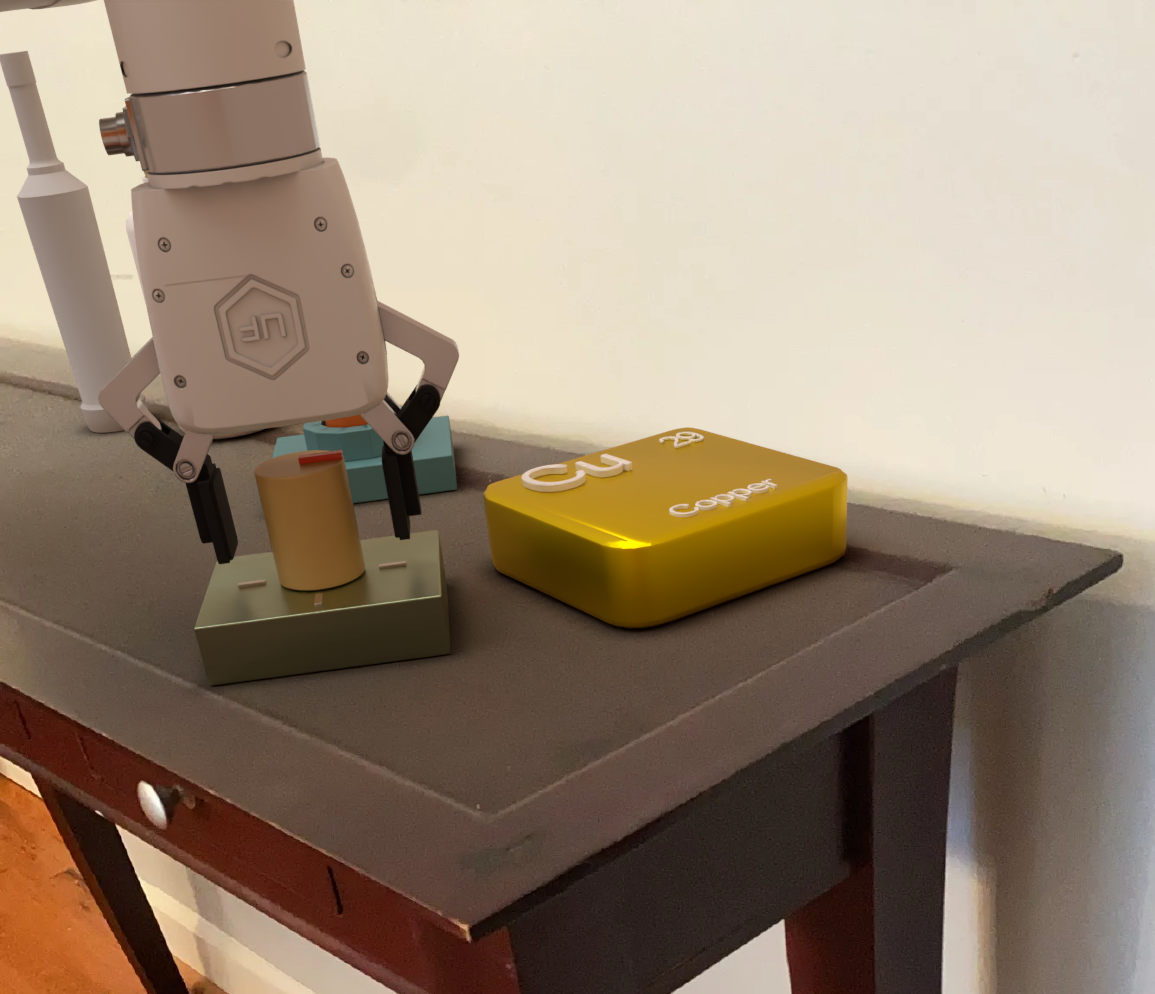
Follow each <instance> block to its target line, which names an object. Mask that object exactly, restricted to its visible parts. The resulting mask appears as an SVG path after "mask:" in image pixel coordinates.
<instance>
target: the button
mask: <svg viewBox="0 0 1155 994" xmlns="http://www.w3.org/2000/svg"><path fill="white" fill-rule="evenodd" d="M325 423H326V426H327V427H332V428H347V427H355V426H362V425H367V424H368V423H367V422H366V421H365V420H364V419H363V418H362V417H361V415H356V416H351V417H346V418H339V419H333V420H326V421H325Z"/></svg>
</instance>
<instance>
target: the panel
mask: <svg viewBox="0 0 1155 994" xmlns="http://www.w3.org/2000/svg"><path fill="white" fill-rule="evenodd" d="M360 542H361V547H362V552H363V558H364V563H365V570H364V572H363V573H362V575H360V576H359V577H358V578H356V579H354V580H352V581H350V582H348V583H345V584H342V585H339V586H336V587H332V588H327V589H321V590H293V589H289V588H286V587H284V586H282V585H281V583H280V581H279V578H278V573H277V569H276V565H275V561H274V556H273V552H272V551H268V552H259V553H252V554H245V555H237V556H236V555H235V556H234V559H233V560H230V563H227V564H219V563H218V561H217V560H216V561H215V565H214V567H213V571H212V574H211V577H210V579H209V582H208V585H207V589H206V591H205V595H204V598H203V601H202V603H201V607H200V609H199V612H198V616H197V620H196V622H195V625H194V629H193V630H194V633H195V638H196V641H197V645H198V648H199V652H200V655H201V659H202V663H203V666H204V669H205V673H206V677H207V681H208V684H209V686H213V687H214V686H220V685H228V684H235V683H243V682H250V681H258V680H265V679H273V678H279V677H288V676H295V675H302V674H311V673H317V672H325V671H326V672H327V671H333V670H340V669H347V668H355V667H362V666H369V665H377V664H384V663H385V664H386V663H392V662H400V661H409V660H415V659H422V658H430V657H436V656H437V657H438V656H445V655H450V654H451V653H452V650H451V649H452V648H451V631H450V613H449V597H448V595H449V594H448V581H447V574H446V568H445V563H444V562H445V561H444V556H443V549H442V544H441V543H442V542H441V537H440V531H439V530H438V529H434V530H426V531H425V530H424V531H419V532H410V539H406V540H400V539H399V538H395V535H389V536H382V537H374V538H366V539H360Z"/></svg>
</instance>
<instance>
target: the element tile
mask: <svg viewBox="0 0 1155 994" xmlns="http://www.w3.org/2000/svg"><path fill="white" fill-rule="evenodd" d="M482 498H483V505H484V512H485V518H486V527H487V534H488V540H489V548H490V555H491V562H492V565H493V567H494V568H495V569H496V570H497V571H498V572H499V573H501V574H502V575H505V576H507V577H508V578H509V577H510V578H511V579H513V580H516V581H518V582H520V583H522V584H524V585H526V586H529V587H530V588H533V589H535V590H536V591H538V592H541V593H543V594H544V595H547V596H549V597H552V598H553V599H556V600H558V601H560V602H562V603H565V604H566V605H567V606H568V605H569V606H571V607H572V608H574V609H577V610H579V611H581V612H583V613H586V614H587V615H590V616H591V617H593V618H595V619H598V620H600V621H602V622H605V623H607V624H608V625H611V626H615V627H617V628H625V629H647V628H652V627H658V626H662V625H665V624H668V623H671V622H674V621H677V620H679V619H682V618H685V617H688V616H691V615H694V614H696V613H699V612H702V611H705V610H708V609H711V608H713V607H715V606H718V605H721V604H725V603H726V602H730V601H732V600H736V599H738V598H741V597H743V596H747V595H749V594H752V593H755V592H757V591H760V590H763V589H766V588H769V587H772V586H774V585H777V584H780V583H782V582H785V581H787V580H790V579H793V578H797V577H799V576H802V575H805V574H808V573H810V572H814V571H816V570H818V569H821V568H824V567H827V566H830V565H831V564H834V563H835V562H837V561H838V560H839V559H841V558H842V557H844V556H845V554H846V550H847V537H848V536H847V533H848V531H847V530H848V473H846V472H844V471H843V470H842V469H841V468H839V467H837V466H833V465H829V464H826V463H822V462H819V461H815V460H811V459H809V458H805V457H800V456H797V455H793V454H790V453H786V452H782V451H779V450H775V449H772V448H769V447H765V446H761V445H758V444H755V443H751V442H747V441H743V440H740V439H736V438H733V437H730V436H726V435H722V434H718V433H714V432H711V431H708V430H704V429H700V428H695V427H689V426H688V427H680V428H675V429H672V430H667V431H665V432H661V433H656V434H654V435H651V436H647V437H644V438H640V439H637V440H633V441H631V442H626V443H623V444H619V445H617V446H613V447H609V448H607V449H603V450H600V451H596V452H593V453H589V454H586V455H582V456H579V457H576V458H572V459H568V460H566V461H561V462H559V463H554V464H545V465H541V466H536V467H534V468H531V469H528V470H526V471H525V472H523V473H522V474H517V475H514V476H511V477H508V478H504V479H500V480H498V481H495V482H492V483H490V484H488V485H487V487H486V488H485V490H484V491H483V494H482Z"/></svg>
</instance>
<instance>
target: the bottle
mask: <svg viewBox="0 0 1155 994" xmlns="http://www.w3.org/2000/svg"><path fill="white" fill-rule="evenodd" d="M0 67H1V70H2V73H3V74H2V75H3V77H4V79H5V80H4V81H5V84H6V86H7V87H8V91H9V94H10V98H11V102H12V106H13V108H14V112H15V115H16V119H17V122H18V126H19V129H20V133H21V136H22V140H23V143H24V147H25V150H26V154H27V157H28V160H29V162H28V163H29V164H28V165H27V167H26V171H27V177H26V179H25V180H24V183H23V184H22V186H21V188H20V190H19V192H18V194H17V196H16V198H17V202H18V205H19V208H20V211H21V214H22V217H23V220H24V223H25V226H26V227H25V228H26V230H27V233H28V237H29V239H30V243H31V246H32V249H33V252H34V255H35V259H36V261H37V263H38V267H39V271H40V273H41V277H42V280H43V283H44V286H45V290H46V293H47V296H48V299H49V302H50V305H51V308H52V311H53V315H54V318H55V321H56V324H57V327H58V330H59V333H60V336H61V340H62V342H63V347H64V349H65V353H66V355H67V358H68V362H69V364H70V368H71V371H72V374H73V377H74V381H75V384H76V386H77V390H78V393H79V396H80V399H81V404H80V407H79V408H80V412H81V415H82V418H83V420H84V423H85V425H86V426H87V428H88V429H89V430H90V432H92V433H98V434H101V433H114V432H121V431H125V430H124V429H123V428H122V427H121V426H120V425H119V424H118V423H117V422H116V421H115V420H114V419H113V418H112V417H111V416H110V415H109V414H108V413H107V412H106V411H105V410H104V409H103V408H102V406H101V405H100V404H99V400H98V396H99V393H100V392H101V390H102V389H103V387H104V386H105V385H106V384H107V383H108V382H109V381H110V380H111V379H112V378H113V377H114V376H115V375H116V374H117V373H118V372H119V371H120V369H121V368H122V367H123V366H124V365H125V364H126V363H127V362H128V361H129V360H130V359H131V358H132V355H131V351H130V347H129V343H128V339H127V335H126V330H125V327H124V323H123V320H122V316H121V315H122V314H121V311H120V307H119V305H118V300H117V295H116V292H115V288H114V284H113V281H112V275H111V272H110V267H109V265H108V261H107V260H108V259H107V256H106V254H105V253H106V252H105V249H104V245H103V241H102V237H101V232H100V229H99V224H98V220H97V217H96V212H95V209H94V204H93V201H92V197H91V194H90V190H89V185H87V184H86V183H84V182H83V181H82V180H81V179H79V178H78V177H76V176H75V175H73V174H72V173H71V172H69V171H68V170H67V169H66V166H65V163H64V162H63V161H61V160H60V159H59V157H57V153H56V149H55V146H54V142H53V139H52V135H51V131H50V128H49V124H48V121H47V118H46V114H45V110H44V107H43V103H42V100H41V96H40V93H39V90H38V86H37V79H36V76H35V75H36V74H35V72H34V68H33V65H32V62H31V57H30V54H29V51H28V50H22V51H21V50H20V51H13V52H6V53H0ZM140 398H141V401H142V403H143V404H144V405H145V406H146V408H147V409H148V410H149V407H148V403H147V400H146V395H145V394H144V393H143V392H141V393H140Z"/></svg>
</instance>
